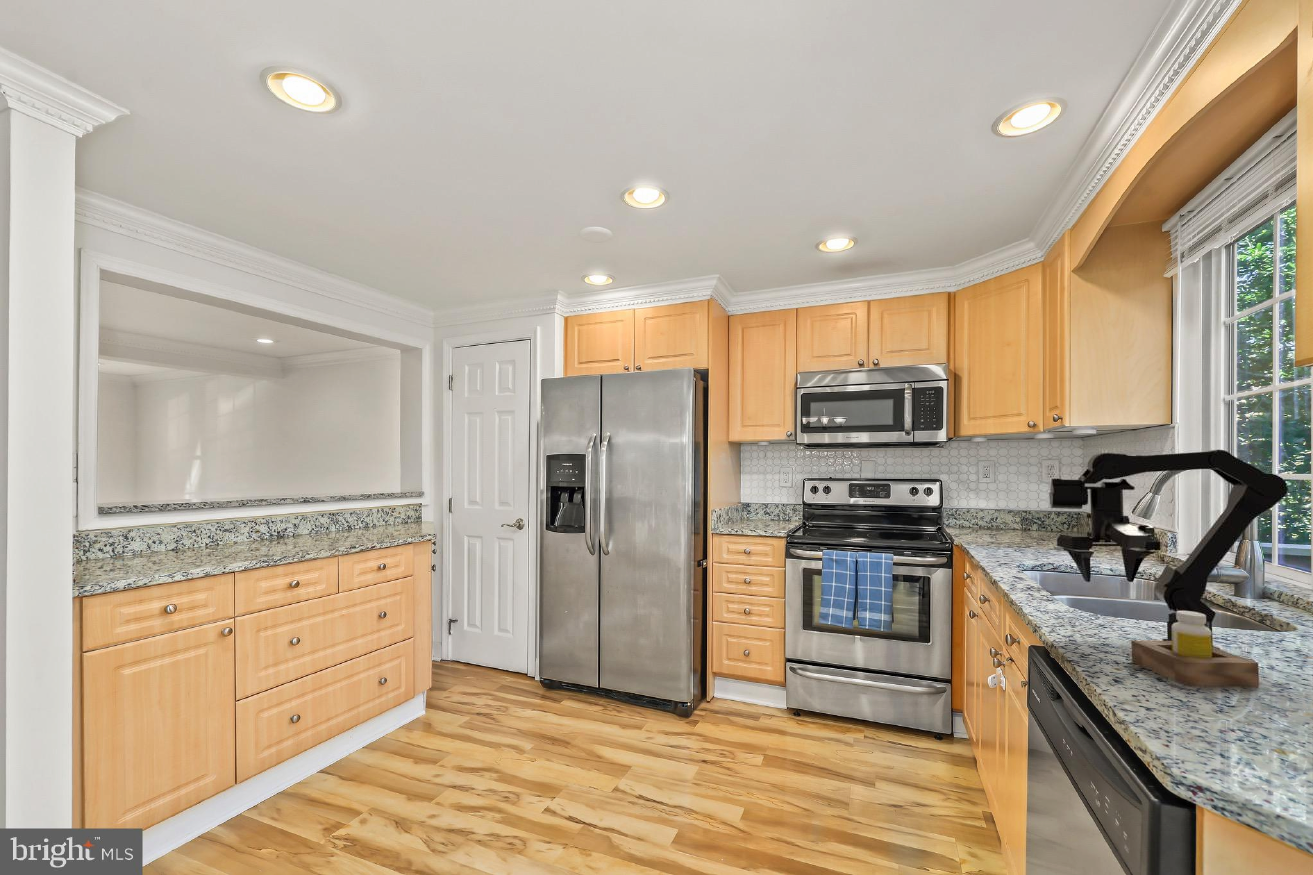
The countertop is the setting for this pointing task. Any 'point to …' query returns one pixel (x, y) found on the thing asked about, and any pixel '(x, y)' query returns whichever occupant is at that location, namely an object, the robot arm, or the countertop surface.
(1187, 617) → the supplement bottle
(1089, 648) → the countertop surface
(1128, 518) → the robot arm
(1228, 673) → the socket block
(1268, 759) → the countertop surface
